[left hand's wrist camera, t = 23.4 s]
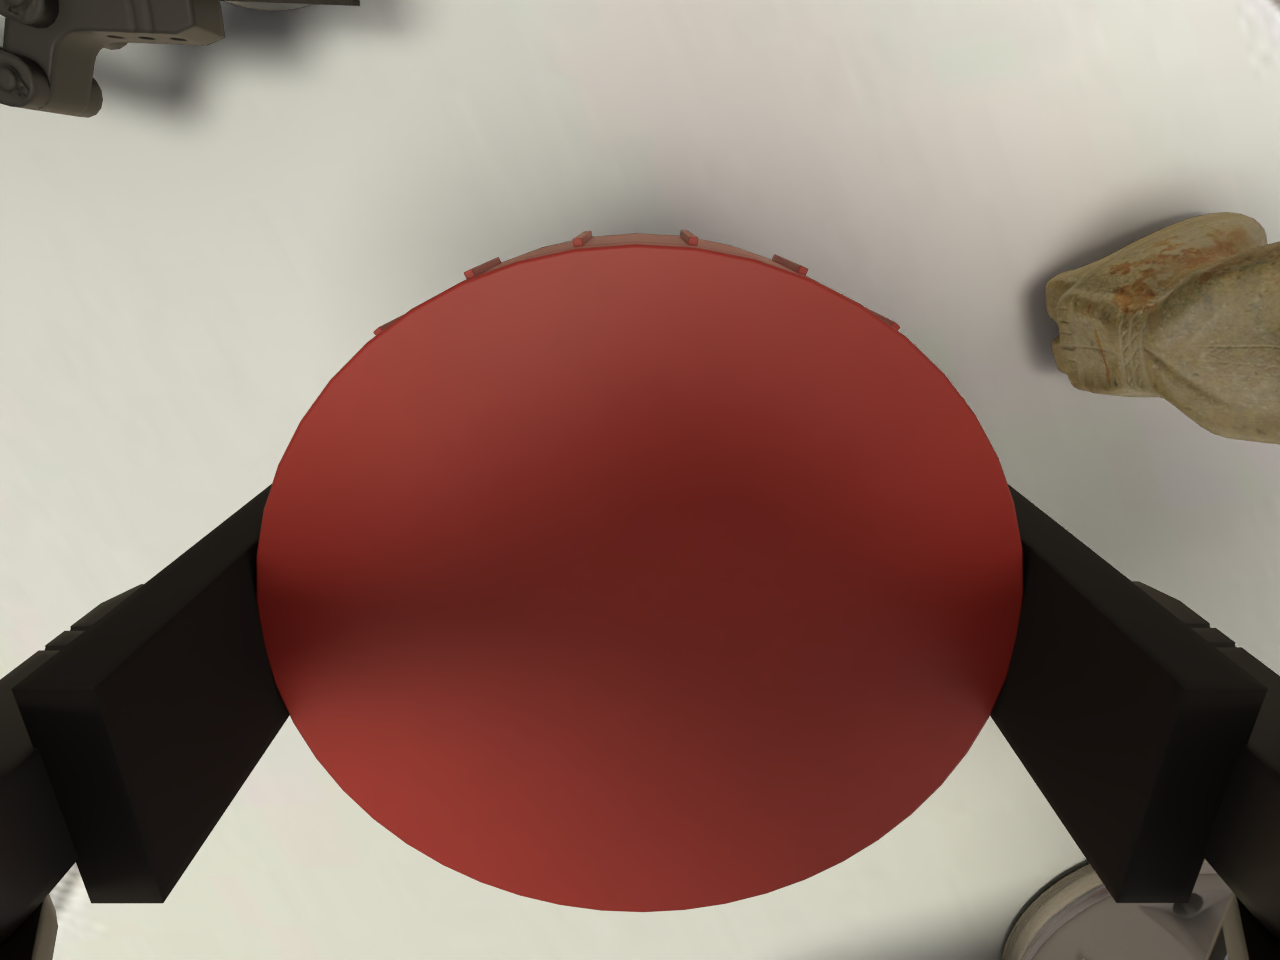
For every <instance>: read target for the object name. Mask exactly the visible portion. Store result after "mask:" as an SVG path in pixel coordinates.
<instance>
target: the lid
mask: <svg viewBox="0 0 1280 960" xmlns="http://www.w3.org/2000/svg"><path fill="white" fill-rule="evenodd" d="M807 271H808V269H807V268H805V267H803V266H800V265H798V264H796V263H793V262H791V261H789V260H787V259H784V258H782V257H780V256H777V255H774V256H773V258H772V260H771V259H768V258H765V257H762V256H759V255H756V254H753V253H751V252H748V251H745V250H742V249H739V248H736V247H733V246H731V245H726V244H721V243H716V242H711V241H706V240H701V239H698V238H697V237H696V236H695V235H693V234H692V233H691V232H689V231H686V230H681V234H680V236H673V235H655V234H638V233H635V234H622V235H609V236H597V237H592V232H591V231H586V232H583V233H582V234H580V235H579V236H577V237H576V238H574V239H573V241H569V242H565V243H560V244H555V245H551V246H546V247H542V248H539V249H537V250H534V251H531V252H529V253H526V254H523V255H521V256H518V257H515V258H513V259H510V260H507V261H505V262H502V263H501V261H500V259H499V257H497V258H495V259H493V260H491V261H488V262H486V263H484V264H482V265H479V266H477V267H475V268H473V269H470V270H468V271H466V272H464V275H465V277H466V280H464V281H462V282H460V283H459V284H457V285H455V286H453V287H451V288H449V289H448V290H446V291H444V292H442V293H440V294H438V295H437V296H435V297H433V298H431V299H429V300H427V301H426V302H424V303H422V304H420V305H418V306H416V307H415V308H413V309H411V310H410V311H408V312H407V313H406V314H404V315H402V316H400V317H398V318H396V319H394V320H392V321H390V322H388V323H386V324H384V325H382V326H380V327H379V328H377V329H376V330H375V331H374V334H375V335H376V336H375V337H374V338H372V339H371V340H370V341H368V342H367V343H366V344H365V345H364V346H363V347H362V348H361V349H360V350H359V351H358V352H357V353H356V354H355V355H354V356H353V357H352V359H351V360H350V361H349V362H348V363H347V364H346V365H345V366H344V367H343V368H342V369H341V370H340V371H339V372H338V373H337V374H336V375H335V376H334V377H333V378H332V379H331V380H330V381H329V383H328V384H327V385H326V387H325V388H324V389H323V391H322V392H321V394H320V395H319V396H318V398H317V399H316V401H315V402H314V403H313V404H312V406H311V408H310V409H309V410H308V412H307V413H306V414H305V416H304V417H303V419H302V420H301V421H300V423H299V425H298V427H297V429H296V431H295V433H294V435H293V437H292V439H291V441H290V443H289V445H288V447H287V449H286V451H285V453H284V455H283V457H282V459H281V461H280V463H279V465H278V468H277V471H276V474H275V477H274V480H273V483H272V486H271V489H270V493H269V496H268V499H267V502H266V505H265V508H264V512H263V519H262V525H261V531H260V538H259V544H258V551H257V606H258V613H259V618H260V623H261V628H262V633H263V638H264V642H265V647H266V651H267V655H268V659H269V664H270V668H271V671H272V674H273V677H274V681H275V684H276V686H277V689H278V691H279V693H280V695H281V697H282V699H283V701H284V704H285V706H286V708H287V710H288V712H289V714H290V716H291V718H292V721H293V723H294V724H295V726H296V727H297V729H298V731H299V732H300V734H301V735H302V737H303V738H304V740H305V742H306V743H307V745H308V746H309V748H310V749H311V751H312V752H313V754H314V756H315V757H316V759H317V760H318V761H319V762H320V763H321V765H322V766H323V767H324V768H325V769H326V771H327V772H328V773H329V774H330V775H331V777H332V778H333V779H334V780H335V781H336V783H337V784H338V785H339V786H340V787H341V788H342V790H343V791H344V792H345V793H346V794H347V795H349V796H350V797H351V798H352V799H353V800H354V801H355V802H356V803H357V804H358V805H359V806H360V807H361V808H362V809H363V810H365V811H366V812H367V813H368V814H369V815H370V816H371V817H372V818H373V819H374V820H376V821H377V822H378V823H380V824H381V825H382V826H384V827H385V828H386V829H388V830H389V831H390V832H392V833H393V834H394V835H396V836H397V837H398V838H400V839H401V840H402V841H404V842H405V843H406V844H408V845H410V846H412V847H413V848H415V849H417V850H418V851H420V852H422V853H423V854H425V855H427V856H428V857H430V858H432V859H434V860H435V861H437V862H439V863H440V864H442V865H444V866H446V867H449V868H451V869H453V870H455V871H457V872H460V873H462V874H464V875H466V876H468V877H470V878H473V879H475V880H477V881H479V882H482V883H485V884H488V885H491V886H494V887H497V888H499V889H502V890H505V891H508V892H511V893H514V894H517V895H520V896H525V897H529V898H533V899H537V900H542V901H546V902H550V903H554V904H559V905H565V906H572V907H580V908H587V909H595V910H604V911H629V912H653V911H671V910H686V909H693V908H700V907H706V906H713V905H720V904H726V903H730V902H734V901H738V900H742V899H746V898H750V897H754V896H758V895H762V894H766V893H769V892H772V891H774V890H777V889H780V888H783V887H786V886H788V885H791V884H794V883H797V882H800V881H802V880H805V879H807V878H809V877H812V876H814V875H816V874H818V873H820V872H822V871H824V870H826V869H828V868H830V867H833V866H835V865H837V864H839V863H841V862H843V861H845V860H846V859H848V858H850V857H851V856H853V855H854V854H856V853H858V852H859V851H861V850H863V849H864V848H866V847H868V846H869V845H871V844H872V843H874V842H876V841H877V840H879V839H880V838H881V837H883V836H884V835H885V834H887V833H888V832H889V831H890V830H892V829H893V828H894V827H896V826H897V825H898V824H899V823H901V822H902V821H903V820H905V819H906V818H907V817H909V816H910V815H911V814H912V813H913V812H914V811H915V810H916V809H917V808H918V807H919V806H920V805H921V804H922V803H923V802H924V801H926V800H927V799H928V798H929V797H930V796H931V795H932V794H933V793H934V792H935V791H936V790H937V789H938V788H939V787H940V786H941V785H942V784H943V782H944V781H945V780H946V779H947V777H948V776H949V775H950V774H951V772H952V771H953V770H954V769H955V767H956V766H957V765H958V764H959V762H960V761H961V760H962V759H963V757H964V756H965V755H966V754H967V752H968V751H969V749H970V747H971V746H972V744H973V743H974V741H975V739H976V738H977V736H978V734H979V733H980V731H981V729H982V728H983V726H984V725H985V723H986V721H987V720H988V718H989V716H990V714H991V712H992V709H993V707H994V705H995V703H996V700H997V698H998V696H999V694H1000V691H1001V689H1002V687H1003V684H1004V682H1005V680H1006V677H1007V674H1008V669H1009V665H1010V661H1011V656H1012V652H1013V648H1014V644H1015V639H1016V634H1017V629H1018V624H1019V619H1020V614H1021V609H1022V601H1023V555H1022V544H1021V539H1020V533H1019V528H1018V522H1017V516H1016V511H1015V505H1014V501H1013V499H1012V496H1011V493H1010V490H1009V487H1008V484H1007V481H1006V478H1005V476H1004V473H1003V470H1002V467H1001V464H1000V461H999V458H998V456H997V455H996V453H995V451H994V449H993V447H992V445H991V443H990V442H989V440H988V438H987V436H986V434H985V432H984V430H983V429H982V427H981V425H980V423H979V421H978V419H977V417H976V415H975V414H974V413H973V411H972V410H971V409H970V407H969V406H968V405H967V403H966V402H965V400H964V399H963V397H961V395H960V394H959V393H958V392H957V390H956V389H955V388H954V386H953V385H952V384H951V382H950V381H949V380H948V378H947V377H946V376H945V374H944V373H943V372H942V371H941V370H940V369H939V368H938V367H937V366H935V365H934V364H933V363H932V362H931V361H930V360H929V359H928V358H927V357H926V356H925V355H924V354H923V353H922V352H921V351H920V350H919V349H918V348H917V347H916V346H915V345H914V344H913V343H912V342H911V341H910V340H909V339H908V338H907V337H906V336H904V335H903V334H901V333H900V332H899V331H898V330H899V328H900V326H899V325H898V324H896V323H895V322H893V321H891V320H889V319H887V318H885V317H883V316H881V315H879V314H877V313H875V312H873V311H871V310H869V309H867V308H865V307H864V306H862V305H861V304H859V303H857V302H855V301H853V300H851V299H849V298H847V297H845V296H843V295H842V294H840V293H838V292H836V291H834V290H832V289H830V288H828V287H826V286H824V285H822V284H820V283H818V282H816V281H814V280H813V279H811V278H809V277H807V276H806V273H807Z"/></svg>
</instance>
